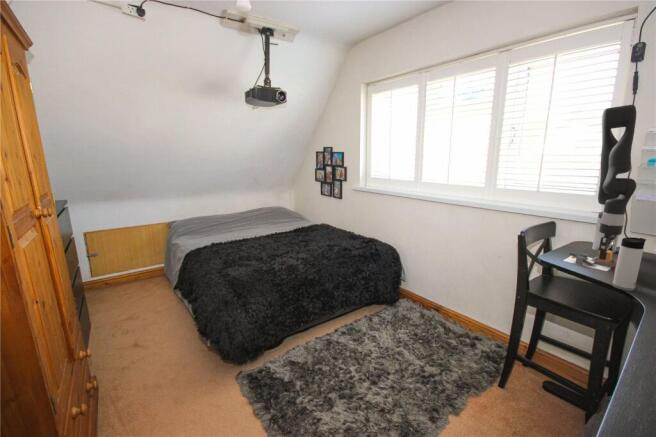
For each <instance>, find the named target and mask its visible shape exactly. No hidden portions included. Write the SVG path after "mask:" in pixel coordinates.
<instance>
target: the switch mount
mask: <svg viewBox="0 0 656 437" xmlns="http://www.w3.org/2000/svg"><path fill="white" fill-rule="evenodd" d="M580 255H582V256H584V257H586V258H587V257H589V256H588V254H584V253H580ZM584 257H579V256H577V258H576V264H575V265H579V264H580V265H579V266H583V259H584Z"/></svg>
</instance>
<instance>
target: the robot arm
mask: <svg viewBox="0 0 656 437" xmlns="http://www.w3.org/2000/svg"><path fill="white" fill-rule="evenodd" d="M636 122H637V109H636V106H635V104H627V105H626V104H625V105H620V106H615V107H613V106H612V107H608V108H605V109H604V110H603V112H602V115H601V140H602V141H601V142H602V143H601V152H600V154H601V155H600V178H599V179H600V180H599V187H598V195H597V201H598V204H600V205H603V206H604V207H603V211H600V212H599V213H598V216H597V221H596V226H595V231H594V232H595V233H594V237H593V243H592V247H591V248H592V250H595V251H598V252H599V251H600V255H599V259H601V260H605V259H606V255H607V252H608V250H609V251H613V254H615V253H616V251H617V250H616V249H617V246H618V242H619V238H620V236H621V235H622V232H623V228H624V225H625V224H624V223H625V215H626V209H627V205H628V203H629V201H630V200H631V198H632V196H633V194H634V193H635V192H636V189H637V181H636V180H635V179H633V178H632V177H631V178H630V177H624V178H623V177H617V176H618V175H622V174H626V173H628V172H630V171H631V166H632V158H631V157H632V156H631V155H632V146H633V142H634V136H635V135H634V134H635V128H636ZM619 128H624V132H623V135H622V136H621V137H620V138H619V140H618V139H617V138H616V137H615V136H614V133H613V132H612V130H613V129H619Z"/></svg>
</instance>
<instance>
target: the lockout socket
mask: <svg viewBox="0 0 656 437" xmlns="http://www.w3.org/2000/svg"><path fill="white" fill-rule="evenodd" d="M592 258H593V259H591V260H592V261H594V262H595V263H594V264H597V265H602V266H606V267H610V269H614V268H615V266H616V261H617V259H612V260H611V264H610V263H606V262H601V261H597V259H598V255H597V256H595V257H592Z"/></svg>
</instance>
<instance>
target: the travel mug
mask: <svg viewBox="0 0 656 437" xmlns="http://www.w3.org/2000/svg"><path fill="white" fill-rule="evenodd" d="M646 241H647V239H645V238H643V237H633V236H632V237H631V236H630V237H623V238H621V242H620V247H619V252H618V254H619V256H618V255H617V256H618V261H617V260H616V261H617V265H616V270H615V269H614V270H615V275H614V274H613V276H614V277H613V281H612V286H613V288H616V289H618V290H622V291H628V292H632V291H634V290H635V289H636V285H637V280H638V277H639V271H640V266H641V262H642V258H643V253H644V248H645V247H644V246H645V245H646V244H645V243H646Z"/></svg>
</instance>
